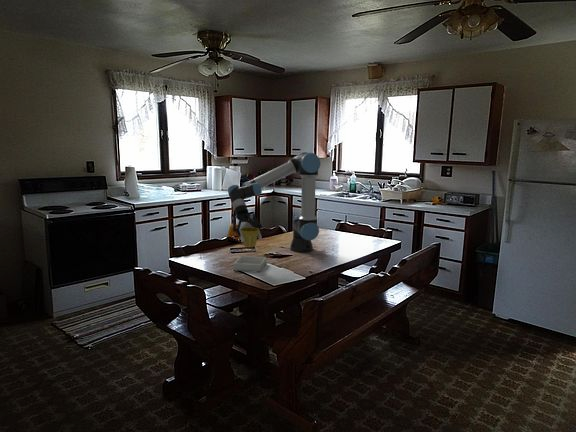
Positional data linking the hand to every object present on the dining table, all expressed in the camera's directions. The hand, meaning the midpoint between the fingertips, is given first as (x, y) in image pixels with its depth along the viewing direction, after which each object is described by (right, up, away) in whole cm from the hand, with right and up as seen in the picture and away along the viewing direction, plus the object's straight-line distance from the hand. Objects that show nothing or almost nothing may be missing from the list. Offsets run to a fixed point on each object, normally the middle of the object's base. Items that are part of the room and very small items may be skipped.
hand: (251, 240), depth 226 cm
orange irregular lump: (-18, -5, +67) cm, 70 cm away
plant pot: (-2, -4, +3) cm, 5 cm away
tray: (-1, -16, +5) cm, 17 cm away
